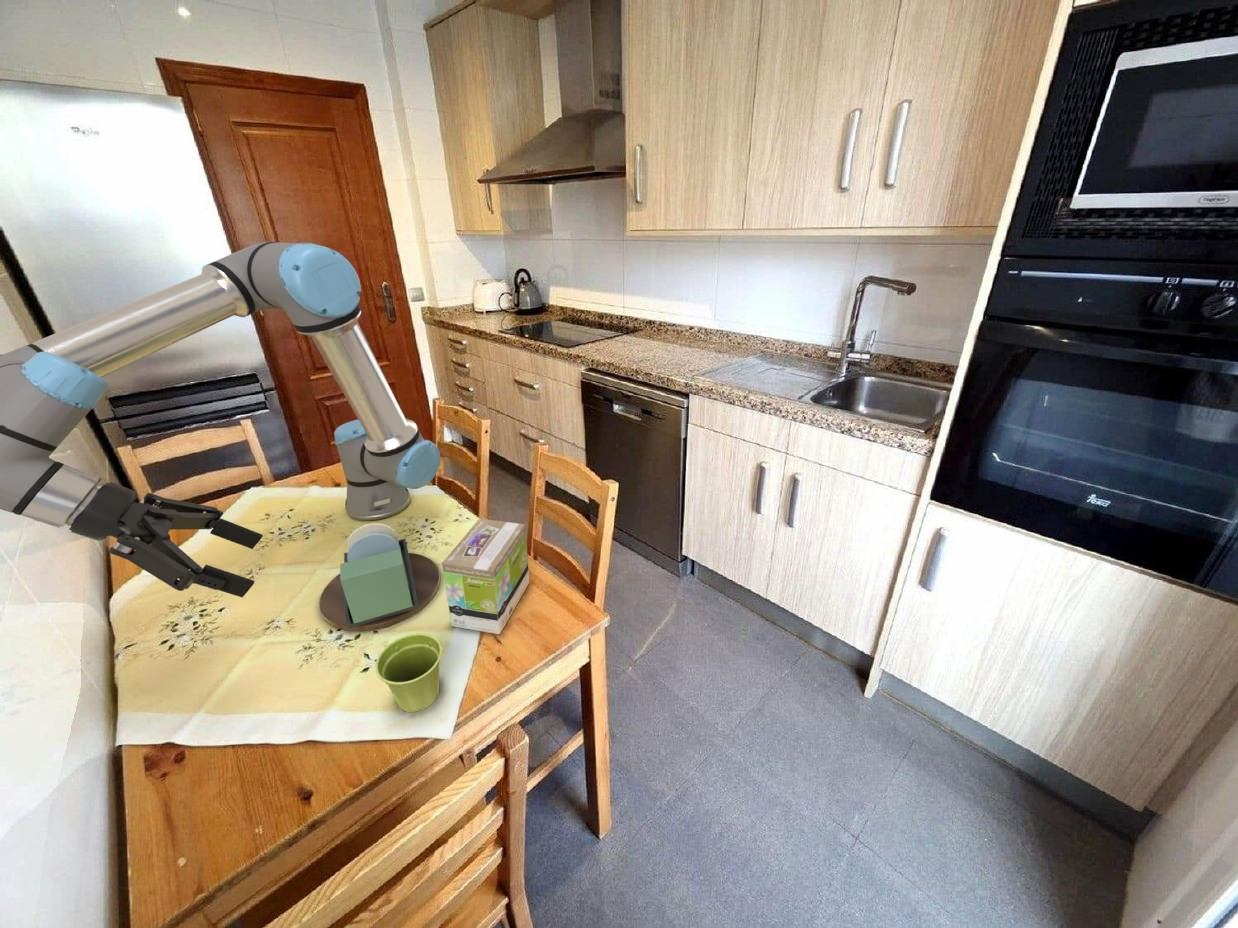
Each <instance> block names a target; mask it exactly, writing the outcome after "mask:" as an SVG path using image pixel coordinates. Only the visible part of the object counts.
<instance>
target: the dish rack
mask: <svg viewBox="0 0 1238 928" xmlns="http://www.w3.org/2000/svg"><path fill="white" fill-rule="evenodd" d="M346 550H347V552H344V553H343V562H342V563H340V565H339V566H340V569H339V570H340V571H339V574H340V581H341V584H342V587H343V590H344V601H345V618H346V621H347V624H348V627H349V629H350V628H353V627H356V626H360V625H363V624H367V623H370V622H373V621H377V620H380V619H384V618H387V617H390V616H394V615H397V614H401V613H404V612H407V611H411V610H414V609H418V608H419V604H418V599H417V594H416V589H415V583H414V578H413V573H412V568H411V563H410V558H409V553H410V552H409V549H408V544H407V540H406V538H402V539H400V538H399V534H398V533H397V531H396V530H395V529H394V528H393V527H391V526H390V525H388V524H385V523H380V522H371V523H367V524H363V525H361V526H359V527H357V528H356V529H354V530H353V531H352V532H351V534H350V535H349V536H348V539H347V542H346Z"/></svg>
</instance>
